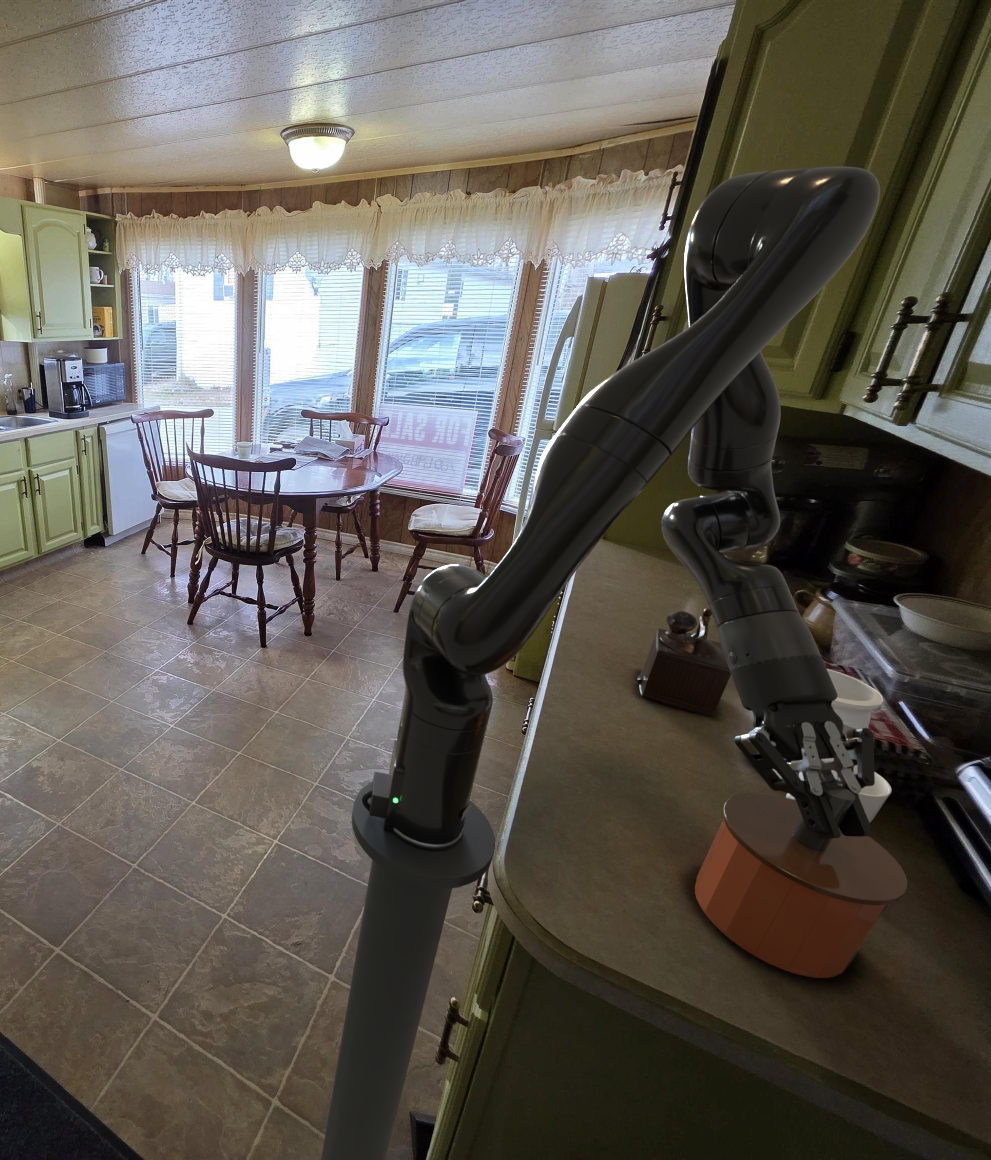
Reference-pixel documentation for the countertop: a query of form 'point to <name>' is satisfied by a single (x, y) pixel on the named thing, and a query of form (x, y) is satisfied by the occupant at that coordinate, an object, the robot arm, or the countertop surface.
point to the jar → (852, 701)
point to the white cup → (866, 793)
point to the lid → (815, 848)
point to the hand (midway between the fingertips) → (842, 836)
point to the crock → (779, 913)
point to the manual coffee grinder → (685, 666)
